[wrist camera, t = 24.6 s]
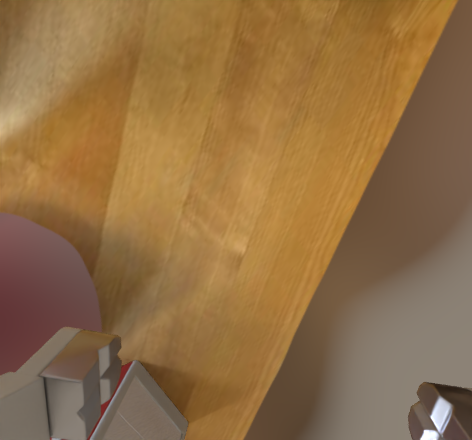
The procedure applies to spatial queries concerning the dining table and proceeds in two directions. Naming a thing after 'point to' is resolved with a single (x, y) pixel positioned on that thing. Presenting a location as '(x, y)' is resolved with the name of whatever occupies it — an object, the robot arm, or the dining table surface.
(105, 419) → the tissue box
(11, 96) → the dining table surface
